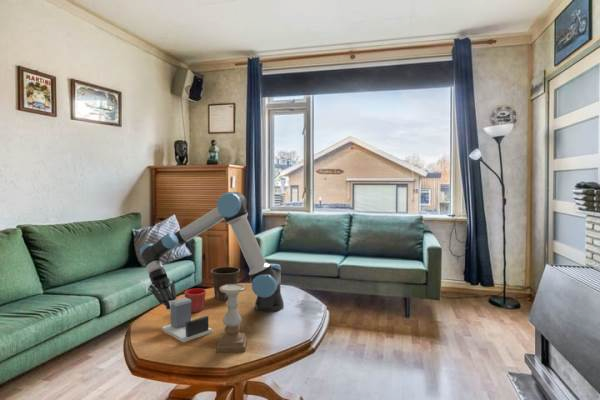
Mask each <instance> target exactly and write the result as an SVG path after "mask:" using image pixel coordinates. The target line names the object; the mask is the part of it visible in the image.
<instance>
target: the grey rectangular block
mask: <svg viewBox="0 0 600 400" xmlns="http://www.w3.org/2000/svg"><path fill="white" fill-rule="evenodd" d="M191 319H192V312H191V299H188V298H186V297H185V296H184V297H180V298H176V299H175V300H172V301H171V314H170V324H171V326H173V327H175V328H179V327H183V326H186V322H188V321H191Z"/></svg>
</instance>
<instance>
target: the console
mask: <svg viewBox="0 0 600 400" xmlns="http://www.w3.org/2000/svg"><path fill="white" fill-rule="evenodd" d="M161 331H163V332H164V333H166V334H167V335H169V336H171V337H173V338H174V339H176V340H178V341H179V342H181V343H186V342H189V341H192V340H195V339H197V338H201V337H203V336H206V335H209V334H212V333H213V328H211V327H209V316H208V315H204V316H202V317H198V318H194V319H192V318H191V321H188V322H186V326H183V327H179V328H175V327H173V326H171V323H170V324H167V325H164V326H161Z"/></svg>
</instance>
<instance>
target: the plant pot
mask: <svg viewBox="0 0 600 400" xmlns="http://www.w3.org/2000/svg"><path fill="white" fill-rule="evenodd" d="M240 271H241V270H240V268H238V267H235V266H222V267H221V266H220V267H216V268H213V269H211V270H210V273H211V278H212V283H213V293H214V299H215V300H217V301H220V302H221V301H223V302H224V301H227V300H228V296H227V295H226V293H223V292H221V291H220V290H219V288H220V287H221V286H223V285H227V284H239V283H238V282H239V281H238V280H239V275H240Z"/></svg>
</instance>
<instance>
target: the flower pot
mask: <svg viewBox="0 0 600 400" xmlns="http://www.w3.org/2000/svg"><path fill="white" fill-rule="evenodd" d="M206 292H207V290H206V289H205V288H191V289H186V290H185V291H184V297H186V298H188V299H191V313H199V312H202V311H203V309H204V306H205V305H204V304H205V300H206V294H207V293H206Z"/></svg>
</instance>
